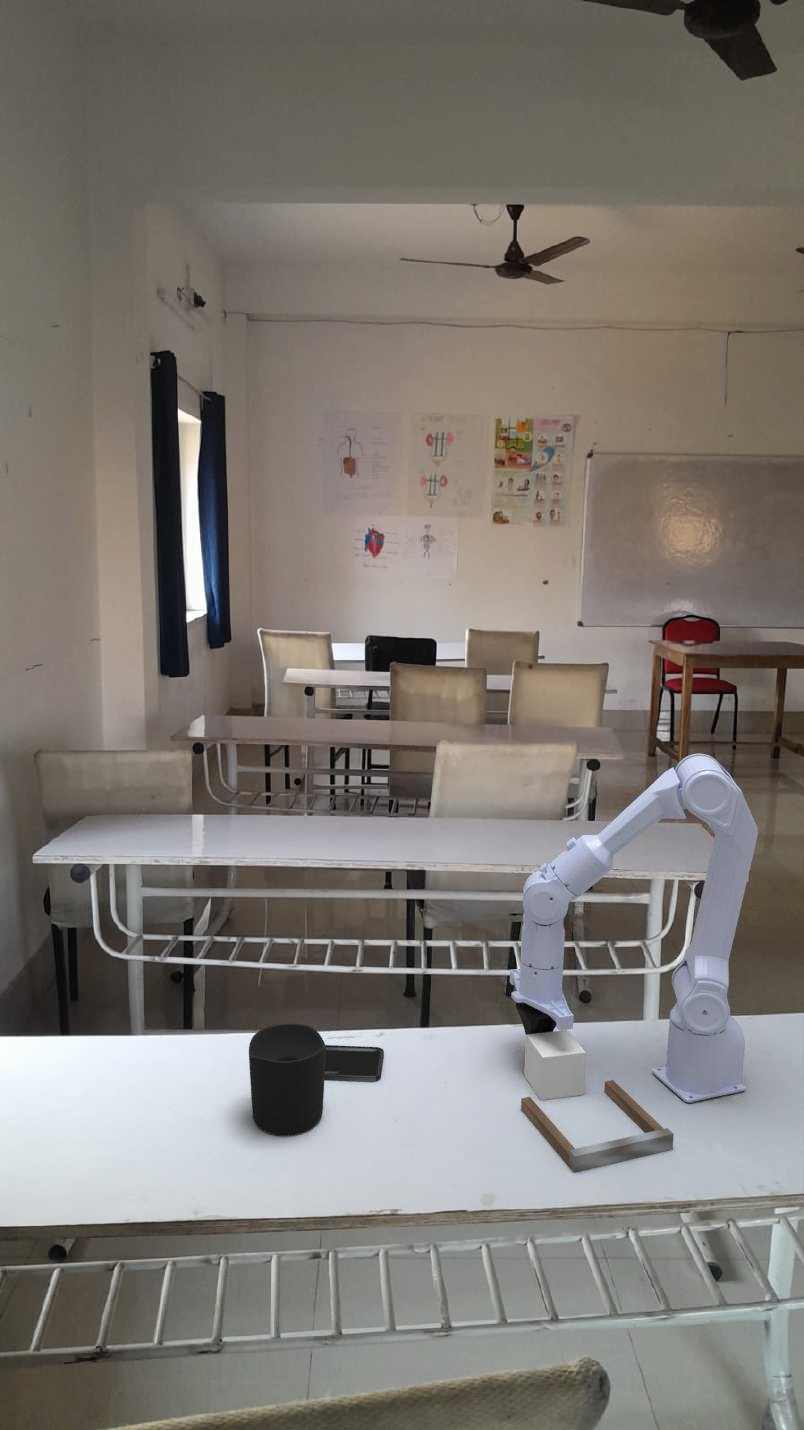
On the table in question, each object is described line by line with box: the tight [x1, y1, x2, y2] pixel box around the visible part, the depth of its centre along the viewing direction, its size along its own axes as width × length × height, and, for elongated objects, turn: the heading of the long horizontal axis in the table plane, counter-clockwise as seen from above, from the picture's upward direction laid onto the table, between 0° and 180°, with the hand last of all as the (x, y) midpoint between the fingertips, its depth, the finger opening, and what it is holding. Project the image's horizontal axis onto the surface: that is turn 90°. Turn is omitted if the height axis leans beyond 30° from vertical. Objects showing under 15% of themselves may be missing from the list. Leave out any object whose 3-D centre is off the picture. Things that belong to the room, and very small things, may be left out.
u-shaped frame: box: [520, 1079, 675, 1173], centre depth 119 cm, size 13×13×2 cm
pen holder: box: [248, 1023, 327, 1137], centre depth 119 cm, size 9×9×10 cm
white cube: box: [523, 1029, 587, 1101], centre depth 128 cm, size 6×6×6 cm
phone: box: [324, 1044, 385, 1083], centre depth 132 cm, size 8×1×15 cm
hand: (537, 1054), depth 132 cm, fingers closed
